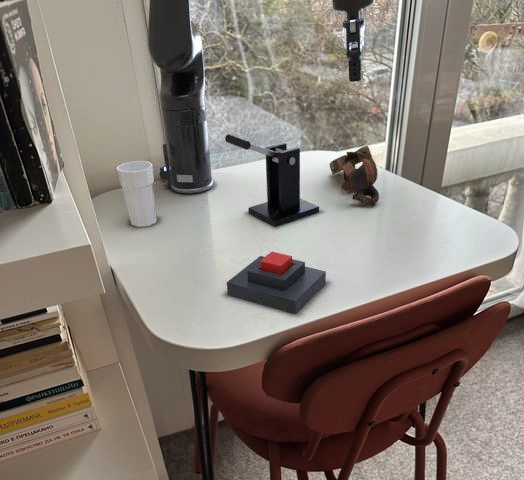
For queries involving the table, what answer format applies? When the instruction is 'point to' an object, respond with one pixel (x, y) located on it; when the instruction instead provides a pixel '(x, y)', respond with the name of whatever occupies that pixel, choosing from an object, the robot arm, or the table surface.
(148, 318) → the table surface
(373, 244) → the table surface
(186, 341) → the table surface
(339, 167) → the brown curved piece
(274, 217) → the bracket
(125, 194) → the cup
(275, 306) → the control block
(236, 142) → the lever
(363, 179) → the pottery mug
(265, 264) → the stop button
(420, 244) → the table surface
